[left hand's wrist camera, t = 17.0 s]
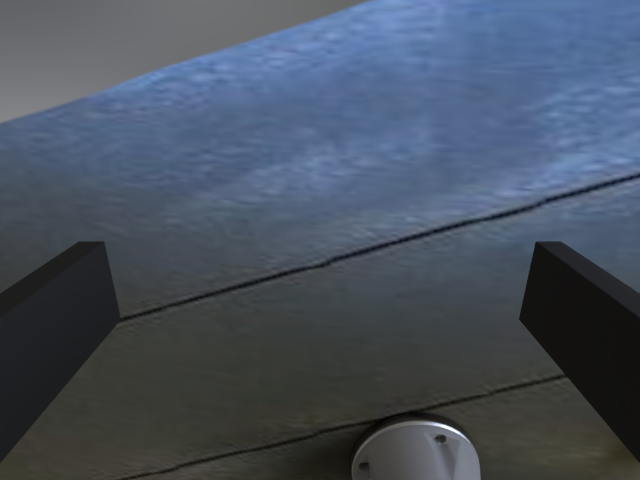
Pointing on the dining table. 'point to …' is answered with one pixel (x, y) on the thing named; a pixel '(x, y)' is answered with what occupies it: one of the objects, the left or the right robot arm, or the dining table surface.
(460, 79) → the dining table surface
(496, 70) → the dining table surface
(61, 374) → the left robot arm
